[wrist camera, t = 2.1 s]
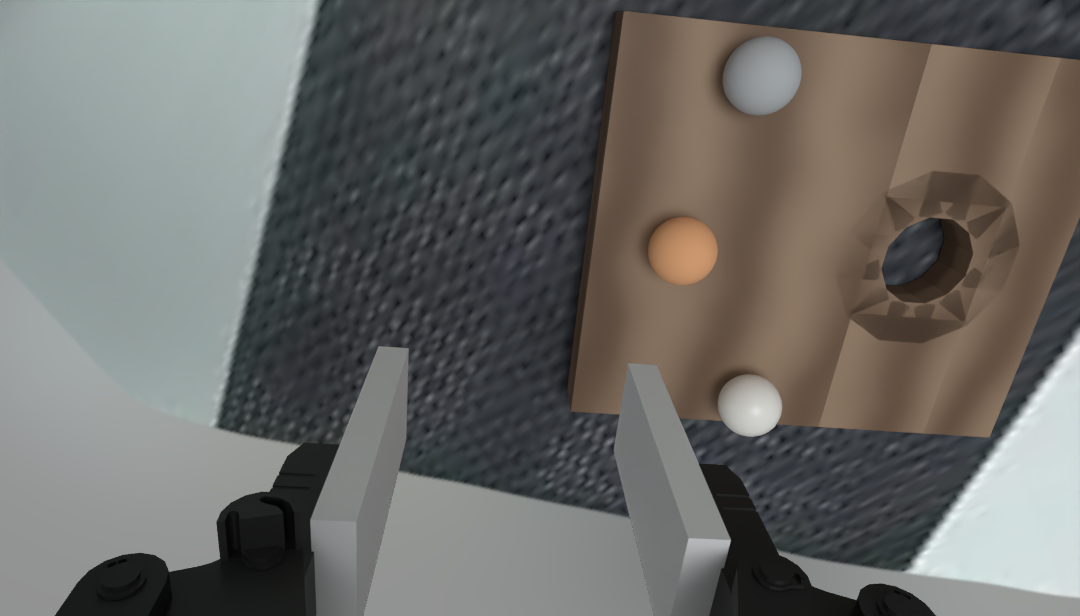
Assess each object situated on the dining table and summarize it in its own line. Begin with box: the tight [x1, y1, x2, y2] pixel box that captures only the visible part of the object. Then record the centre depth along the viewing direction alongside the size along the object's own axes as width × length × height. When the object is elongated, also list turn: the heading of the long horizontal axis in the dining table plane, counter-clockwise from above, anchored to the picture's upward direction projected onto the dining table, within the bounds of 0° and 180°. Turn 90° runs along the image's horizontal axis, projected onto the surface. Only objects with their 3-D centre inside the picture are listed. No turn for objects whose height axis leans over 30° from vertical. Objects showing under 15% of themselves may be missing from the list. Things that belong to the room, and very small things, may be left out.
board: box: [567, 11, 1080, 437], centre depth 36 cm, size 24×20×2 cm
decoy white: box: [718, 374, 782, 436], centre depth 36 cm, size 3×3×3 cm
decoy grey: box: [723, 36, 802, 115], centre depth 29 cm, size 3×3×3 cm
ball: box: [648, 217, 718, 285], centre depth 32 cm, size 3×3×3 cm
